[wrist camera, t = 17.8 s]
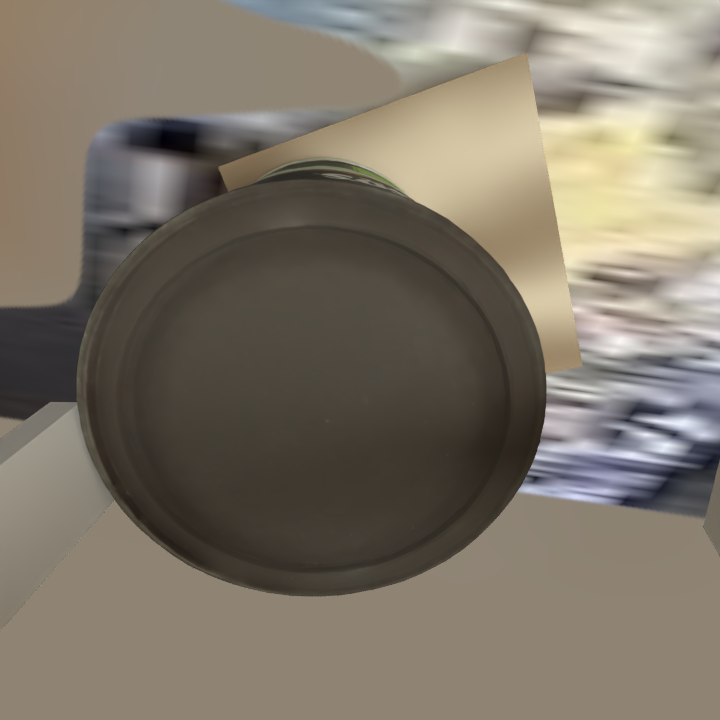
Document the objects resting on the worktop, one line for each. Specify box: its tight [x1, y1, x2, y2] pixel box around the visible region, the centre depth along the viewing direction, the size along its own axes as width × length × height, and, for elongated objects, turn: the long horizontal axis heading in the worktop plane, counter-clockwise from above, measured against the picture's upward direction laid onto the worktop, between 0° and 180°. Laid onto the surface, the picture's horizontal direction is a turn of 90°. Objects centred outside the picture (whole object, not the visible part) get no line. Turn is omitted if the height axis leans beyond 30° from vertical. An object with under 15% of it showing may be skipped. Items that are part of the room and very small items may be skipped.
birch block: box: [218, 53, 582, 373], centre depth 28 cm, size 14×14×6 cm
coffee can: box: [77, 157, 546, 596], centre depth 18 cm, size 10×10×14 cm
